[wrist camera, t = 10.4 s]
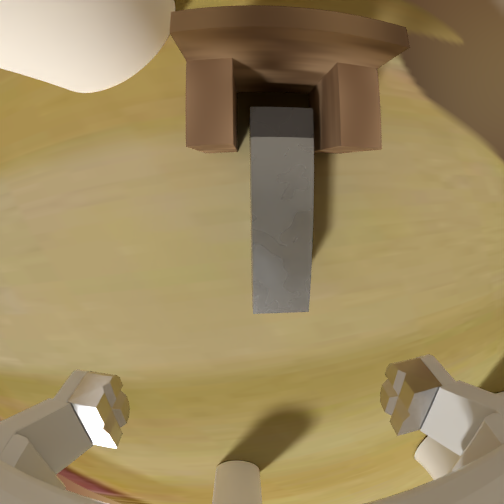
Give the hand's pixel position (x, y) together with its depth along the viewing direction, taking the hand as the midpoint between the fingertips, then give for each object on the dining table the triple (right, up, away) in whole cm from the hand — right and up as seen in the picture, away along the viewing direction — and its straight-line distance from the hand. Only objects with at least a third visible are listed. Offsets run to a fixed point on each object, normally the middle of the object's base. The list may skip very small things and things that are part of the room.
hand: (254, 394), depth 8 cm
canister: (-14, +25, +11) cm, 30 cm away
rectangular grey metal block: (+2, +8, +16) cm, 18 cm away
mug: (-3, -29, +27) cm, 39 cm away
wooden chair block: (+2, +14, +14) cm, 20 cm away
